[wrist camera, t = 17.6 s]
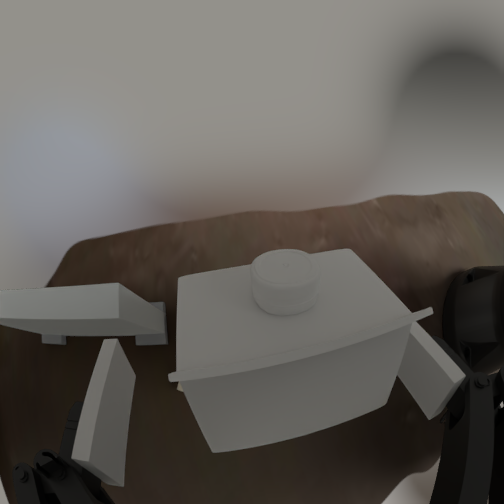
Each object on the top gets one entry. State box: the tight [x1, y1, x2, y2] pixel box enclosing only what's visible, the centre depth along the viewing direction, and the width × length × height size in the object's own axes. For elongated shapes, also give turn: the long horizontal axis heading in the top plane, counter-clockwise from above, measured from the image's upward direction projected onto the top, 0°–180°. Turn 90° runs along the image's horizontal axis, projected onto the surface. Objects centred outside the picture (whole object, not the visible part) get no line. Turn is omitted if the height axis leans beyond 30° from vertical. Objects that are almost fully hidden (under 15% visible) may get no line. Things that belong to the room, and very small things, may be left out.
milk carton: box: [168, 249, 433, 453], centre depth 15 cm, size 7×7×19 cm
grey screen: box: [0, 283, 168, 345], centre depth 18 cm, size 15×4×12 cm, turn 97°
